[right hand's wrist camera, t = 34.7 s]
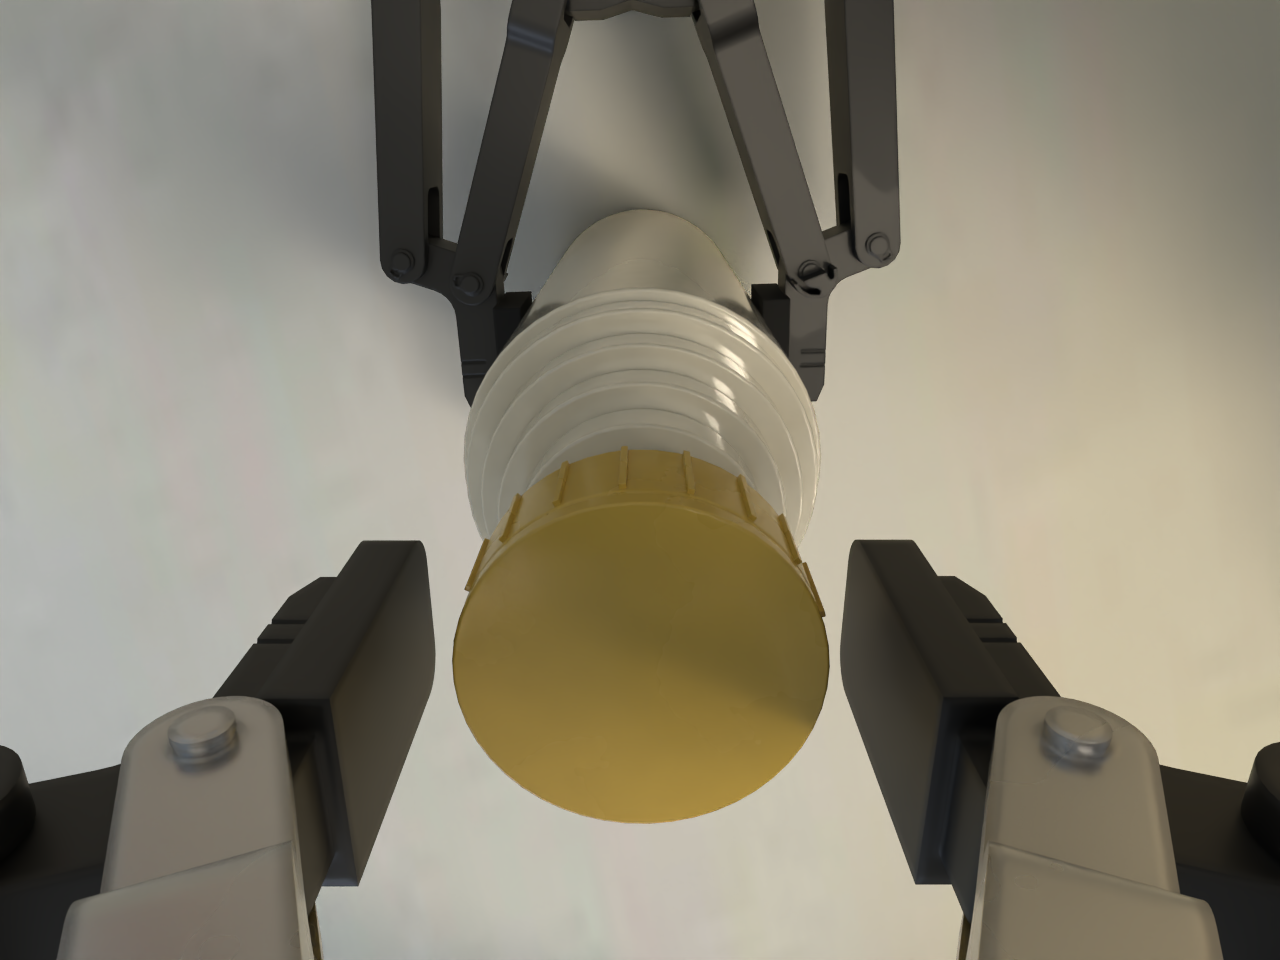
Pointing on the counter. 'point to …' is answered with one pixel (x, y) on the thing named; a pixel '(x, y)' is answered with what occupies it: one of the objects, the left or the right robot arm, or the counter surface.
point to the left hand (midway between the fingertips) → (647, 502)
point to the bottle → (642, 373)
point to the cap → (641, 639)
